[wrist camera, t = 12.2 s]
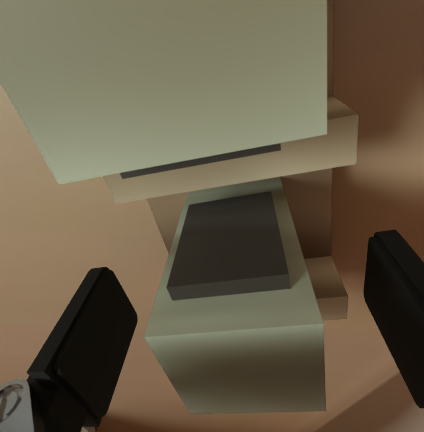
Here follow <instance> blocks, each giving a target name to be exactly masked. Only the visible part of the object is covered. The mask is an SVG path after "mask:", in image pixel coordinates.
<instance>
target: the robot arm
mask: <svg viewBox="0 0 424 432" xmlns="http://www.w3.org/2000/svg"><path fill="white" fill-rule="evenodd" d="M364 298H365V302H366V304H367V306H368V308H369V310H370V312H371V314H372V316H373V318H374V320H375V322H376V324H377V326H378V328H379V330H380V332H381V334H382V336H383V338H384V340H385V342H386V344H387V346H388V348H389V350H390V352H391V354H392V356H393V358H394V361H395V363H396V365H397V367H398V369H399V371H400V373H401V375H402V377H403V379H404V381H405V383H406V385H407V386H408V389H409V391H410V393H411V395H412V397H413V399H414V401H415V403H416V404H417V406H418V407H419V408H424V262H423V261H422V260H421V259H420V258H419V256H418V255H417V254H416V253H415V252H414V250H413V249H412V248H411V247H410V246H409V244H408V243H407V242H406V241H405V240H404V238H403V237H402V236H401V235H400V234H399V232H397V231H396V230H390V231H382V232H376V233H375V234H374V237H370V238H369V242H368V252H367V262H366V273H365V283H364ZM136 325H137V314H136V312H135V310H134V308H133V306H132V304H131V303H130V301H129V299H128V297H127V295H126V294H125V292H124V290H123V288H122V286H121V285H120V283H119V281H118V279H117V277H116V276H115V274H114V272H113V271H112V270H109V269H108V268H107V267H101V268H93V269H91V270H90V271H89V272H88V273H87V275H86V277H85V278H84V280H83V282H82V283H81V285H80V286H79V288H78V290H77V291H76V293H75V295H74V296H73V298H72V300H71V301H70V303H69V304H68V306H67V308H66V309H65V311H64V313H63V314H62V316H61V317H60V319H59V321H58V322H57V324H56V326H55V327H54V329H53V331H52V332H51V334H50V335H49V337H48V339H47V340H46V342H45V344H44V345H43V347H42V348H41V350H40V352H39V353H38V355H37V357H36V358H35V360H34V362H33V363H32V365H31V366H30V368H29V370H28V371H27V373H28V374H29V375H30V376H29V377H28V379H27V381H26V380H24V379H14V380H11V381H9V382H7V383H5V384H3V385H2V386H0V432H96V431H95V427H99V424H100V421H101V419H102V417H103V416H104V415H105V414H106V413H107V411H108V408H109V405H110V402H111V399H112V396H113V393H114V390H115V387H116V384H117V381H118V378H119V375H120V372H121V369H122V366H123V363H124V360H125V357H126V354H127V351H128V348H129V345H130V342H131V339H132V337H133V334H134V331H135V328H136Z"/></svg>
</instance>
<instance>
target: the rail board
mask: <svg viewBox="0 0 424 432" xmlns="http://www.w3.org/2000/svg"><path fill="white" fill-rule="evenodd" d="M333 46H334V0H0V83H1V85H2V87H3V88H4V90H5V92H6V93H7V95H8V97H9V99H10V100H11V102H12V104H13V106H14V107H15V109H16V111H17V113H18V114H19V116H20V118H21V119H22V121H23V123H24V125H25V126H26V128H27V130H28V132H29V133H30V135H31V137H32V139H33V140H34V142H35V144H36V146H37V147H38V149H39V151H40V152H41V154H42V156H43V158H44V159H45V161H46V163H47V165H48V166H49V168H50V170H51V172H52V173H53V175H54V177H55V178H56V180H57V182H58V184H63V183H68V182H74V181H79V180H84V179H90V178H95V177H100V176H103V177H104V179H105V181H106V184H107V186H108V188H109V190H110V192H111V194H112V196H113V198H114V200H115V203H116V204H117V203H123V202H129V201H135V200H141V199H147V200H148V203H149V205H150V208H151V210H152V213H153V215H154V218H155V220H156V223H157V225H158V228H159V230H160V233H161V235H162V238H163V240H164V243H165V245H166V248H167V250H168V253H170V249H171V246H172V243H173V239H174V236H175V233H176V229H177V226H178V223H179V220H180V216H181V213H182V210H183V206H184V203H185V200H186V196H187V193H188V192H193V191H199V190H205V189H210V188H216V187H222V186H227V185H233V184H239V183H244V182H250V181H256V180H262V179H268V178H275V177H280V179H281V183H282V186H283V189H284V193H285V196H286V199H287V203H288V206H289V210H290V213H291V216H292V220H293V223H294V226H295V230H296V233H297V237H298V240H299V243H300V247H301V250H302V253H303V257H304V260H305V264H306V267H307V270H308V274H309V277H310V280H311V284H312V287H313V291H314V294H315V297H316V301H317V304H318V308H319V311H320V314H321V318H322V321H323V320H337V319H347V308H348V295H347V292H346V290H345V288H344V285H343V283H342V280H341V278H340V276H339V273H338V271H337V269H336V266H335V264H334V261H333V259H332V257H331V233H332V168H335V167H341V166H347V165H353V164H356V157H357V140H358V124H359V114H358V113H357V112H356V111H354V110H353V109H351V108H350V107H348V106H347V105H345V104H344V103H342V102H341V101H339V100H338V99H336V98H335V97H333Z"/></svg>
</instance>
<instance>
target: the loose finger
mask: <svg viewBox="0 0 424 432" xmlns="http://www.w3.org/2000/svg"><path fill="white" fill-rule="evenodd" d="M144 338H145V340H146V342H147V343H148V345H149V346H150V348H151V350H152V351H153V353H154V355H155V356H156V358H157V360H158V361H159V363H160V365H161V366H162V368H163V370H164V371H165V373H166V375H167V376H168V378H169V380H170V381H171V383H172V384H173V386H174V388H175V389H176V391H177V393H178V394H179V396H180V398H181V399H182V401H183V403H184V404H185V406H186V408H187V409H188V411H189V413H190V414H210V413H259V412H309V411H326V394H325V363H324V331H323V321H322V318H321V314H320V311H319V308H318V304H317V301H316V297H315V294H314V291H313V287H312V284H311V280H310V277H309V274H308V270H307V267H306V264H305V260H304V257H303V253H302V250H301V247H300V243H299V240H298V237H297V233H296V230H295V226H294V223H293V220H292V216H291V213H290V210H289V206H288V203H287V199H286V196H285V193H284V189H283V186H282V183H281V179H280V177H275V178H268V179H262V180H256V181H250V182H244V183H239V184H233V185H227V186H222V187H216V188H210V189H205V190H199V191H193V192H188V193H187V196H186V200H185V203H184V206H183V210H182V213H181V216H180V220H179V223H178V226H177V229H176V233H175V236H174V239H173V243H172V246H171V249H170V253H169V256H168V259H167V263H166V266H165V269H164V273H163V276H162V279H161V282H160V286H159V289H158V292H157V296H156V299H155V302H154V306H153V309H152V312H151V316H150V319H149V322H148V326H147V329H146V332H145V335H144Z"/></svg>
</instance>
